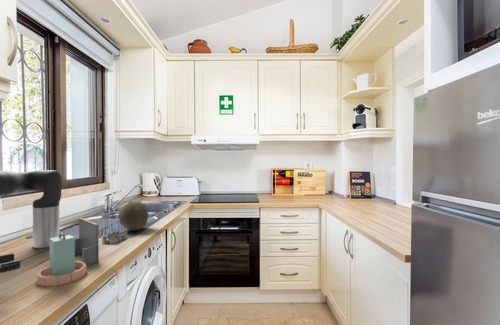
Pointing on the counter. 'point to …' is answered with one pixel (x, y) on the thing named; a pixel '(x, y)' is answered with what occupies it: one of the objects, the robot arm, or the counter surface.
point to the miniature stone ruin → (113, 237)
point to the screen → (88, 241)
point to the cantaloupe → (133, 216)
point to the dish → (46, 280)
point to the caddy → (62, 255)
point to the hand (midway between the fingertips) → (16, 260)
